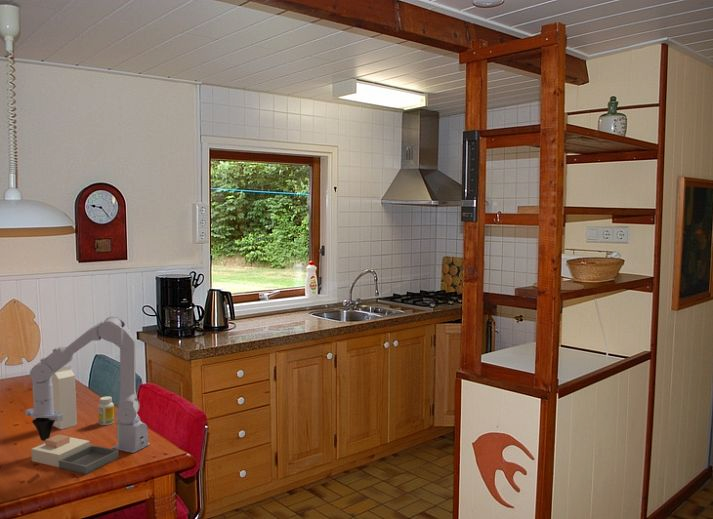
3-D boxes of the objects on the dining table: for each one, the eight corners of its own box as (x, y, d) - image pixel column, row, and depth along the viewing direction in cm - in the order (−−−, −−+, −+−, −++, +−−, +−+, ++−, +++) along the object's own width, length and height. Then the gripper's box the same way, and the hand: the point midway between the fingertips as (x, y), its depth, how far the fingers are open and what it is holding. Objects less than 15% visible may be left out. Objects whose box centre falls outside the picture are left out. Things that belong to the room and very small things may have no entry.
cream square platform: (90, 452, 199) (89, 441, 198) (59, 467, 188) (59, 454, 187) (63, 447, 203) (62, 435, 203) (32, 461, 192) (31, 448, 192)
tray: (118, 457, 195) (118, 450, 194) (86, 474, 183) (85, 466, 182) (92, 452, 199) (92, 445, 199) (59, 468, 187) (58, 460, 187)
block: (69, 442, 197) (69, 436, 197) (56, 448, 192) (56, 442, 192) (58, 440, 199) (58, 434, 199) (45, 445, 194) (45, 439, 194)
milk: (77, 425, 224) (75, 366, 222) (60, 430, 219) (58, 370, 217) (69, 421, 227) (67, 364, 225) (52, 425, 223) (50, 367, 221)
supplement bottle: (96, 425, 223) (95, 400, 222) (101, 420, 228) (100, 395, 227) (111, 425, 223) (111, 400, 223) (116, 420, 229) (115, 395, 228)
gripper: (16, 399, 196) (18, 440, 197) (48, 405, 190) (50, 447, 191) (35, 393, 202) (37, 433, 203) (67, 399, 196) (69, 439, 198)
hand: (45, 439), depth 198 cm, fingers closed
